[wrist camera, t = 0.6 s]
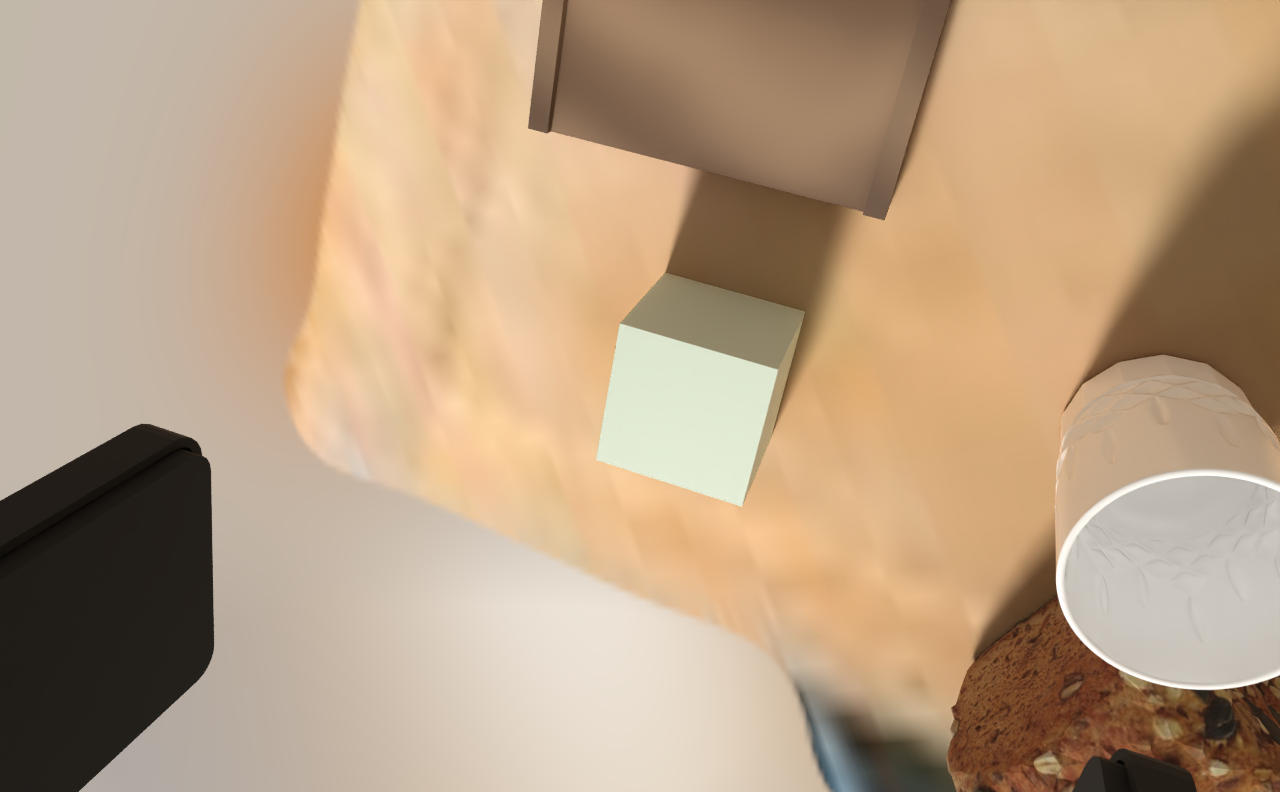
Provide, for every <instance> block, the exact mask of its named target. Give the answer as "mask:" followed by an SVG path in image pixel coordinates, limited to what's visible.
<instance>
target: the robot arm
mask: <svg viewBox="0 0 1280 792" xmlns="http://www.w3.org/2000/svg"><path fill="white" fill-rule="evenodd" d="M212 562H213V561H212V506H211V468H210V463H209V462H208V460H207V458H205V457H203V456H202V452H201V448H200V446H199V444H198V443H197V442H196V441H195V440H193V439H192V438H189V437H186V436H184V435H180V434H177V433H175V432H172V431H169V430H166V429H163V428H159V427H156V426H154V425H151V424H140V425H137V426H135V427H132V428H130V429H128V430H127V431H125V432H123V433H121V434H120V435H118V436H116V437H114V438H112V439H111V440H109V441H107V442H105V443H104V444H102V445H100V446H98V447H96V448H95V449H93V450H91V451H89V452H87V453H85V454H84V455H82V456H80V457H78V458H76V459H75V460H73V461H71V462H69V463H67V464H66V465H64V466H62V467H60V468H59V469H57V470H55V471H53V472H51V473H50V474H48V475H46V476H44V477H42V478H41V479H39V480H37V481H35V482H34V483H32V484H30V485H28V486H26V487H25V488H23V489H21V490H19V491H17V492H15V493H14V494H12V495H10V496H8V497H6V498H5V499H3V500H1V501H0V792H79V791H80V790H81V789H82V788H83V787H84V786H85V785H86V784H87V783H88V782H89V781H90V780H91V779H93V778H94V777H95V776H96V775H97V774H98V773H99V772H100V771H101V770H102V769H103V768H104V767H105V766H106V765H108V764H109V763H110V762H111V761H112V760H113V759H114V758H115V757H116V756H117V755H118V754H119V753H120V752H122V751H123V750H124V749H125V748H126V747H127V746H128V745H129V744H130V743H131V742H132V741H133V740H134V739H135V738H137V737H138V736H139V735H140V734H141V733H142V732H143V731H144V730H145V729H146V728H147V727H148V726H150V725H151V724H152V723H153V722H154V721H155V720H156V719H157V718H158V717H159V716H160V715H161V714H162V713H163V712H165V711H166V710H167V709H168V708H169V707H170V706H171V705H172V704H173V703H174V702H175V701H176V700H177V699H179V697H181V696H182V695H183V694H184V693H185V692H186V691H187V690H188V689H189V688H190V687H191V686H192V685H193V684H194V683H196V682H197V681H198V680H199V678H200V677H201V676H202V675H203V674H204V672H205V671H206V669H207V667H208V665H209V663H210V661H211V658H212V654H213V650H214V617H213V565H212V564H213V563H212ZM1072 792H1197V790H1196V786H1195V782H1194V780H1193V777H1192V775H1191V773H1190V772H1189V771H1188V770H1186V769H1185V768H1182V767H1179V766H1176V765H1173V764H1170V763H1167V762H1164V761H1161V760H1158V759H1155V758H1152V757H1149V756H1146V755H1143V754H1140V753H1137V752H1134V751H1131V750H1128V749H1125V748H1122V749H1118V750H1117V751H1116V752H1115V753H1113V755H1112V756H1111V758H1110V760H1107V759H1104V758H1101V757H1098V756H1093V757H1092V758H1090V759H1089V761H1088V762H1087V764H1086V765H1085V767H1084V769H1083V771H1082V773H1081V775H1080V777H1079V779H1078V781H1077V783H1076V785H1075V787H1074V789H1073V791H1072Z"/></svg>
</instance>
